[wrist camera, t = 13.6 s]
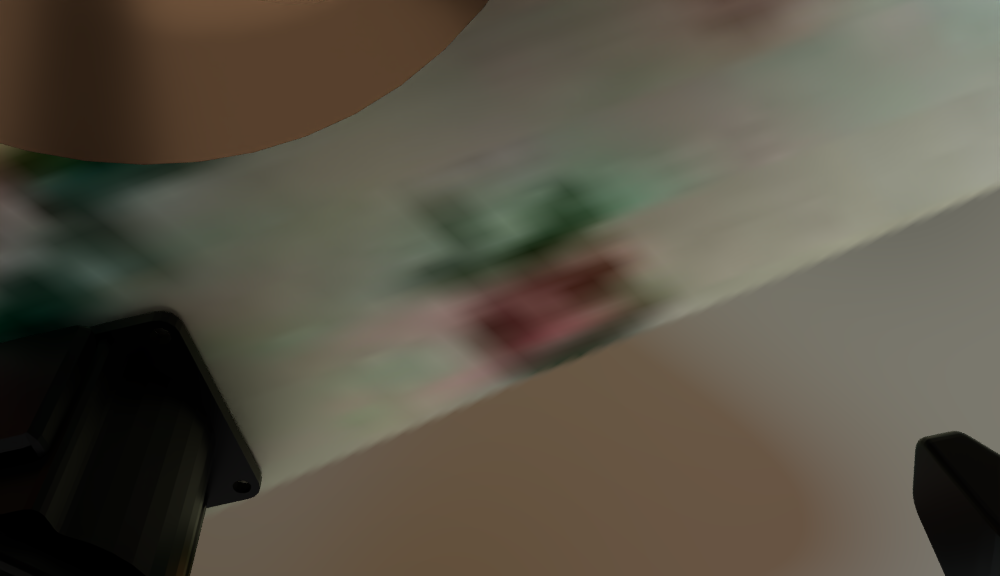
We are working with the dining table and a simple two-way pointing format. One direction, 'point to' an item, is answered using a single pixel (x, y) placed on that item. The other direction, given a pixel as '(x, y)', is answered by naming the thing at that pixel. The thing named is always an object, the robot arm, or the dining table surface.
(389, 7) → the stop pin
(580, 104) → the dining table surface
